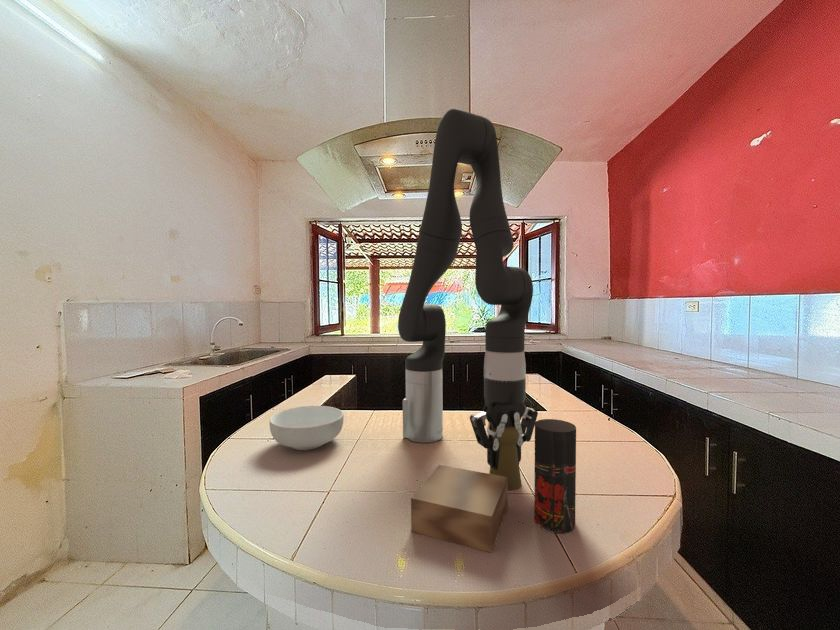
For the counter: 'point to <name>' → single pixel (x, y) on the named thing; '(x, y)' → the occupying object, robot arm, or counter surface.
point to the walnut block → (461, 507)
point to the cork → (508, 458)
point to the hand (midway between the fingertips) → (504, 465)
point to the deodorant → (555, 475)
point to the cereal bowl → (306, 426)
